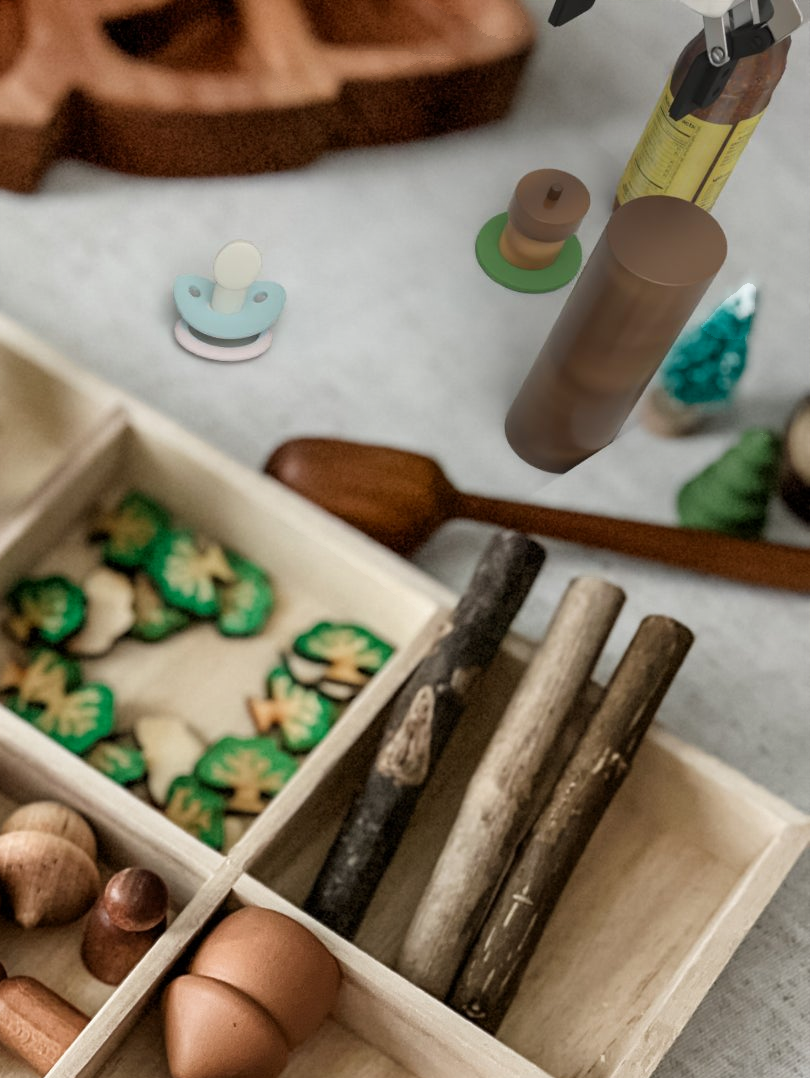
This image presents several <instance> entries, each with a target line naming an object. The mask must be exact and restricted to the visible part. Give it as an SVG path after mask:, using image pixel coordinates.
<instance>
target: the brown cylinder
mask: <svg viewBox="0 0 810 1078" xmlns="http://www.w3.org/2000/svg"><path fill="white" fill-rule="evenodd" d="M727 255H728V239H727V237H726V234H725V231H724V230H723V228H722V226H721V225H720V223H719V222H718V221H717V220H716V219H715V217H713V216H712V215H711V214H710V212H709V213H708V212H707V211H705V210H704V209H702V208H701V207H699V206H697V205H696V204H693V203H691V202H689V201H686V200H684V199H681V198H677V197H672V196H666V195H649V196H643V197H639V198H635V199H633V200H630V201H628V202H626V203H624V204H623V205H622V206H620V207H619V208H618V209H617V210H616V211H615V212H612V215H610V217H609V219H608V221H607V222H606V225H605V226H604V229H603V231H602V232H601V234H600V236H599V238H598V240H597V242H596V244H595V245H594V248H593V250H592V252H591V253H590V255H589V257H588V259H587V261H586V263H585V265H584V267H583V268H582V271H581V273H580V275H579V276H578V278H577V280H576V282H575V284H574V286H573V288H572V289H571V292H570V293H569V296H568V297H567V298H566V299H567V300H566V301H565V303H564V305H563V307H562V309H561V311H560V312H559V314H558V316H557V318H556V320H555V322H554V324H553V326H552V328H551V330H550V331H549V334H548V335H547V337H546V339H545V341H544V343H543V344H542V347H541V348H540V351H539V352H538V354H537V356H536V358H535V360H534V362H533V364H532V366H531V367H530V369H529V371H528V374H527V375H526V377H525V379H524V380H523V383H522V385H521V387H520V389H519V391H518V393H517V395H516V397H515V398H514V400H513V402H512V404H511V406H510V408H509V410H508V412H507V414H506V417H505V420H504V421H505V422H504V431H505V436H506V438H507V441H508V443H509V445H510V447H511V448H512V450H513V452H515V453H516V455H518V457H519V458H521V459H522V460H523V461H525V463H528V464H529V465H531V466H532V467H534V468H537V469H540V470H542V471H544V472H548V473H554V474H567V473H568V472H570V471H571V470H573V469H574V468H576V467H577V466H579V465H581V464H582V463H584V462H585V461H586V460H589V459H590V458H592V456H594V455H596V454H597V453H599V452H601V451H602V450H604V449H605V448H606V447H607V446H609V445H611V444H612V443H613V442H614V440H615V439H616V437H617V436H618V434H619V432H620V431H621V429H622V427H623V426H624V424H625V422H626V421H627V420H628V418H629V417H630V415H631V413H632V412H633V410H634V408H635V407H636V406H637V404H638V402H639V400H640V399H641V397H642V396H643V393H644V392H645V391H646V389H647V387H648V386H649V384H650V383H651V381H652V380H653V378H654V376H655V375H656V373H657V371H658V370H659V368H660V367H661V365H662V364H663V362H664V360H665V359H666V357H667V355H668V354H669V352H670V350H671V349H672V347H673V346H674V344H675V343H676V341H677V339H678V338H679V336H680V334H681V333H682V332H683V329H684V328H685V326H686V325H687V323H688V322H689V320H690V319H691V317H692V315H693V313H694V312H695V311H696V309H697V307H698V305H699V304H700V303H701V301H702V299H703V298H704V296H705V294H706V293H707V291H708V290H709V288H710V287H711V285H712V283H713V281H714V280H715V279H716V277H717V275H718V273H719V272H720V270H721V269H722V267H723V266H724V264H725V261H726V259H727Z"/></svg>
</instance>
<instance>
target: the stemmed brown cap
mask: <svg viewBox="0 0 810 1078" xmlns="http://www.w3.org/2000/svg"><path fill="white" fill-rule="evenodd" d="M590 207H591V195H590V192H589V189H588V188H587V186H586V185H585V183H584V182H582V180H580V179H579V178H578V177H576V176H575V175H573V174H572V173H569V172H567V171H564V170H561V169H557V168H556V169H555V168H540V169H536V170H533V171H530V172H528V173H526V174H525V175H523V176H522V177H521V178H520V179H519V181H518V182H517V184H516V186H515V189H514V191H513V193H512V196H511V197H510V199H509V202H508V205H507V211H506V212H508V218H509V219H508V221H507V223H506V226H505V228H504V230H503V232H502V234H501V237H500V239H499V250H500V252H501V254H502V256H503V257H504V259H505V260H506V261H508V262H509V263H510V264H512V265H513V266H515V267H518V268H521V269H524V270H540V269H544V268H546V267H548V266H550V265H551V264H553V263H554V262H555V260H556V259H557V257H558V255H559V253H560V251H561V249H562V247H563V245H564V243H565V241H566V239H568V238H570V237H571V236H572V235H574V234H575V235H576V233H577V232H578V231H579V229H580V227H581V225H582V224H583V221H584V219H585V217H586V216H587V213H588V211H589V209H590Z"/></svg>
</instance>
